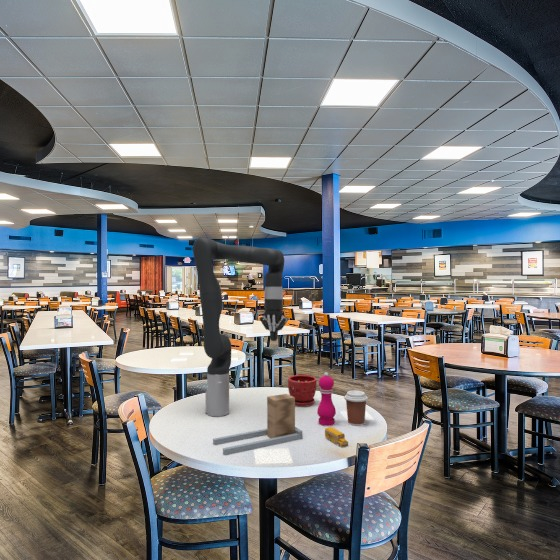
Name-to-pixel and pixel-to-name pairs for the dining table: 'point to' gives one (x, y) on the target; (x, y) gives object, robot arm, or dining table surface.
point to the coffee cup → (356, 407)
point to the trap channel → (254, 444)
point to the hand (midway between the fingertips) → (273, 340)
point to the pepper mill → (326, 401)
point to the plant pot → (302, 389)
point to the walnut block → (280, 415)
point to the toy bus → (336, 436)
